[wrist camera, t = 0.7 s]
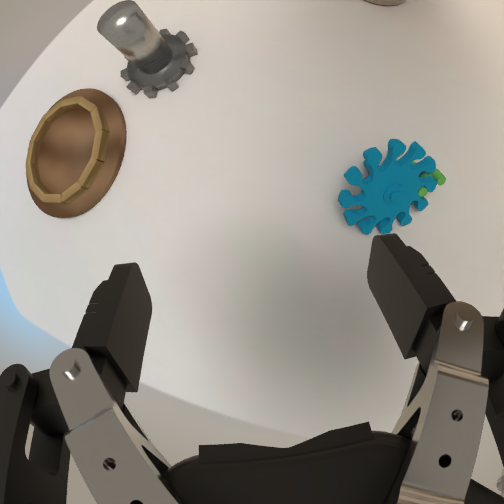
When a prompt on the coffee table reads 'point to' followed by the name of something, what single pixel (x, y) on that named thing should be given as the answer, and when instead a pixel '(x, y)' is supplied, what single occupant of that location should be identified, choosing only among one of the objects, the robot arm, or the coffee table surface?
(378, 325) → the coffee table surface
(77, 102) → the carrier disc
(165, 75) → the gear
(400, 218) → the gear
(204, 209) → the coffee table surface
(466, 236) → the coffee table surface
